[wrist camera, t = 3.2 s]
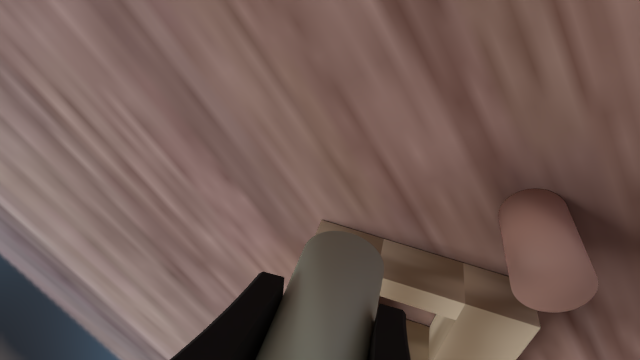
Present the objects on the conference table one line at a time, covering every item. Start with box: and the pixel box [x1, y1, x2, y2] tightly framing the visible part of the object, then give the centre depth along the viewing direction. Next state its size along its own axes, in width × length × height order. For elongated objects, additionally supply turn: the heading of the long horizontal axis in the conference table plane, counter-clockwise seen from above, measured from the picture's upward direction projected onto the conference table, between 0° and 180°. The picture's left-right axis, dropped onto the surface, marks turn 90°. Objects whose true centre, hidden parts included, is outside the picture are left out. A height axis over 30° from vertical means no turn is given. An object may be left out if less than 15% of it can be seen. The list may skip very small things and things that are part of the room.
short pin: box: [498, 189, 598, 313], centre depth 15 cm, size 3×3×4 cm
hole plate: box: [316, 220, 541, 360], centre depth 20 cm, size 10×6×2 cm, turn 79°
